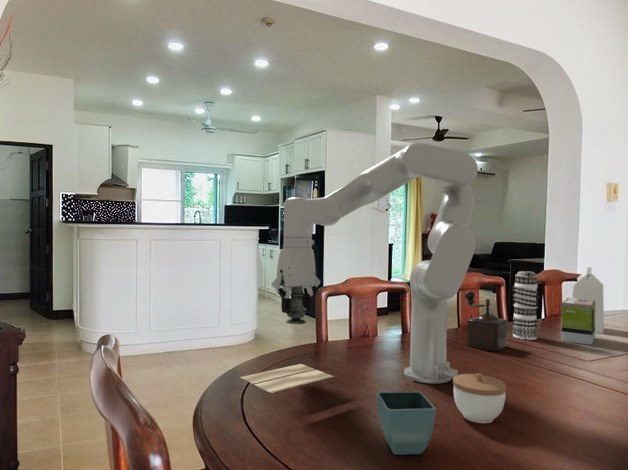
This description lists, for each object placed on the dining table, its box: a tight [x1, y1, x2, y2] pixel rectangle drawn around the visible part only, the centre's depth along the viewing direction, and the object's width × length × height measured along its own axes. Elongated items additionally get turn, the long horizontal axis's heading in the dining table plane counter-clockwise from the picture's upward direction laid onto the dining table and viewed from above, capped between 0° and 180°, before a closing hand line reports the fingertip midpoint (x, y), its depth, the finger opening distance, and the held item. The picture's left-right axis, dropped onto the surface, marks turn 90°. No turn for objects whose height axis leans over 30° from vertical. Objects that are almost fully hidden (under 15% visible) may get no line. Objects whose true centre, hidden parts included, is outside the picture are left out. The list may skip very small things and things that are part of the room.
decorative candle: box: [511, 270, 540, 341], centre depth 175 cm, size 9×9×25 cm
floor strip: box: [239, 363, 316, 385], centre depth 121 cm, size 6×20×1 cm, turn 130°
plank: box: [254, 369, 335, 394], centre depth 116 cm, size 7×20×1 cm, turn 131°
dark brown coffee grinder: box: [463, 291, 508, 352], centre depth 162 cm, size 16×11×18 cm
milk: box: [572, 266, 605, 334], centre depth 193 cm, size 12×12×26 cm
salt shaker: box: [285, 287, 307, 325], centre depth 123 cm, size 6×6×12 cm
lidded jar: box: [452, 372, 507, 424], centre depth 98 cm, size 11×11×9 cm
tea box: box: [560, 297, 596, 346], centre depth 173 cm, size 15×10×15 cm, turn 144°
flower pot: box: [376, 391, 437, 456], centre depth 84 cm, size 9×9×9 cm
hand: (296, 310), depth 123 cm, fingers closed on salt shaker, 5 cm apart
